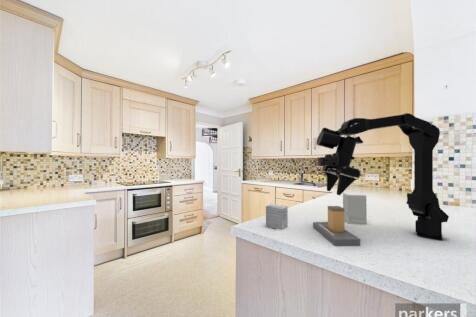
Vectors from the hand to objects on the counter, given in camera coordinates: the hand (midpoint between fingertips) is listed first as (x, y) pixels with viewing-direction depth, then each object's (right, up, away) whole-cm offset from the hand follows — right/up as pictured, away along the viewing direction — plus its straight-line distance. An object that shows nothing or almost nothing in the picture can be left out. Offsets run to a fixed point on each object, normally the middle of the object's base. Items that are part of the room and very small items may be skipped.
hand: (332, 192), depth 76 cm
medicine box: (-19, -16, +7) cm, 26 cm away
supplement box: (+16, -16, +14) cm, 26 cm away
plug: (0, -15, -3) cm, 15 cm away
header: (0, -15, -3) cm, 15 cm away
